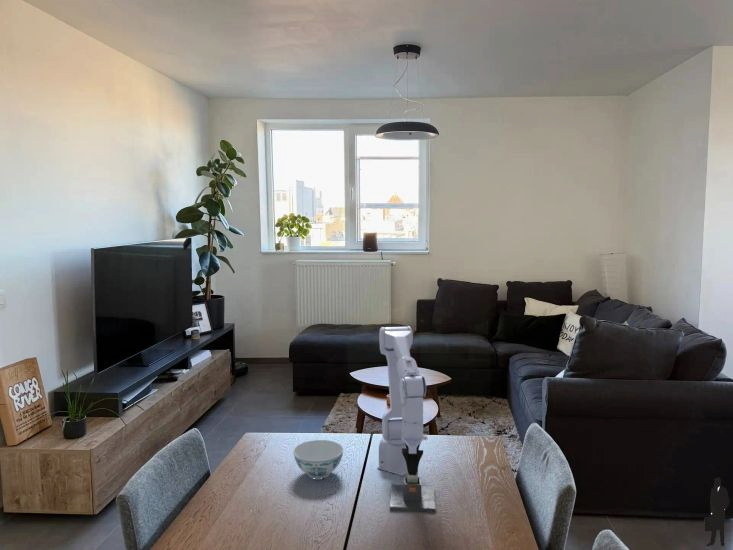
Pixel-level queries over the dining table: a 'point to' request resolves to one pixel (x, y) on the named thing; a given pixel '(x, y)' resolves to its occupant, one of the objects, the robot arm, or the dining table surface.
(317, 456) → the chinaware
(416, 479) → the column
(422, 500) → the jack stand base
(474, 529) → the dining table surface
